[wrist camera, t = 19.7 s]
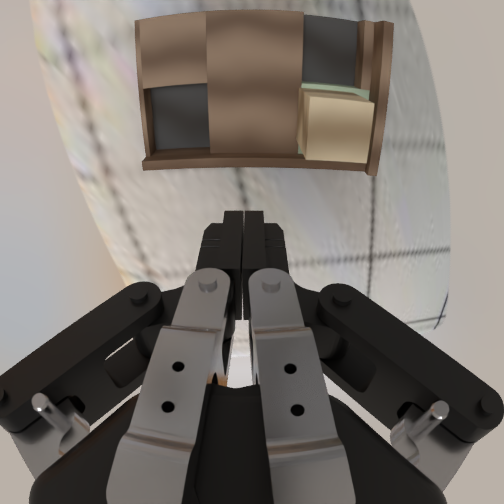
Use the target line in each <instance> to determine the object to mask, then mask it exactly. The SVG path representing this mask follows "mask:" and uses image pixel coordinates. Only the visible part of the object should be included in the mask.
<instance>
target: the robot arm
mask: <svg viewBox="0 0 504 504" xmlns="http://www.w3.org/2000/svg"><path fill="white" fill-rule="evenodd" d="M242 295H243V317H244V320H249V346H250V358H251V370H252V381H253V385H251V386H246V387H242V388H230V387H227V380H228V372H229V366H230V359H231V353H232V346H233V339H234V335H233V333H234V331H235V320H242ZM131 338H133V340H132V341H130V342H129V343H128V344H127V345H125V346H124V347H122V348H121V349H120V350H118V351H117V352H116V353H114V354H113V355H112V356H110V357H109V358H108V359H107V360H105V359H106V358H107V357H108V356H109V355H110V354H111V353H112V352H114V351H115V350H117V349H118V348H119V347H121V346H122V345H123V344H124V343H126V342H127V341H128V340H130V339H131ZM323 373H324V374H325V375H326V376H327V377H328V378H330V379H331V380H332V381H333V382H334V383H335V384H336V385H338V386H339V387H340V388H341V389H342V390H343V391H345V392H346V393H347V394H348V395H349V396H350V397H352V398H353V399H354V400H355V401H356V402H358V403H359V404H360V405H361V406H362V407H363V408H365V409H366V410H367V411H368V412H369V413H370V414H372V415H373V416H374V417H375V418H376V419H378V420H379V421H380V422H381V423H382V424H384V425H385V426H386V427H387V428H389V429H390V430H391V433H390V441H391V444H392V446H391V445H390V444H389V443H388V442H387V441H386V440H384V439H383V438H382V437H381V436H380V435H379V434H378V433H376V431H374V430H373V429H372V428H371V427H370V426H369V425H368V424H367V423H365V421H363V420H362V419H361V418H360V417H359V416H358V415H357V414H356V413H354V411H353V410H351V409H350V408H349V407H348V406H347V405H346V404H344V403H343V402H342V401H340V400H338V399H337V398H335V397H333V396H331V395H329V394H328V392H327V388H326V384H325V380H324V376H323ZM140 385H142V387H141V391H140V393H139V394H137V395H135V396H134V397H132V398H131V399H129V400H128V401H126V402H125V403H124V404H123V405H122V406H121V407H119V408H118V409H117V410H116V411H115V412H114V413H113V414H111V415H110V416H109V417H108V418H107V419H106V420H104V421H103V422H102V423H101V424H100V425H99V426H97V427H96V428H95V429H94V430H93V431H92V432H90V426H91V425H92V424H93V423H95V422H96V421H97V420H98V419H100V418H101V417H102V416H104V415H105V414H106V413H107V412H109V411H110V410H111V409H112V408H114V407H115V406H116V405H117V404H119V403H120V402H121V401H122V400H124V399H125V398H126V397H127V396H129V395H130V394H131V393H132V392H133V391H135V390H136V389H137V388H138V387H140ZM503 415H504V405H503V401H502V399H501V397H500V395H499V394H498V393H497V392H496V391H495V390H494V389H493V388H491V387H490V386H489V385H487V384H486V383H485V382H483V381H482V380H481V379H479V378H478V377H477V376H475V375H474V374H473V373H471V372H470V371H469V370H467V369H466V368H465V367H463V366H462V365H461V364H459V363H458V362H457V361H455V360H454V359H453V358H451V357H450V356H449V355H447V354H446V353H445V352H443V351H442V350H440V349H439V348H438V347H436V346H435V345H434V344H432V343H431V342H430V341H428V340H427V339H425V338H424V337H423V336H421V335H420V334H418V333H417V332H416V331H414V330H413V329H412V328H410V327H409V326H407V325H406V324H405V323H403V322H402V321H400V320H399V319H398V318H396V317H395V316H393V315H392V314H391V313H389V312H388V311H386V310H385V309H383V308H382V307H381V306H379V305H378V304H376V303H375V302H374V301H372V300H371V299H369V298H368V297H366V296H365V295H364V294H362V293H361V292H359V291H358V290H356V289H355V288H353V287H351V286H349V285H346V284H339V283H336V284H330V285H327V286H326V287H324V288H323V289H322V290H321V291H320V292H316V291H311V290H308V289H305V288H302V287H300V286H298V285H297V284H296V283H295V282H294V281H293V279H292V277H291V276H290V275H289V269H288V261H287V254H286V248H285V241H284V233H283V230H282V229H281V228H280V226H279V225H278V224H277V223H264V214H263V211H245V219H244V215H243V211H225V212H224V219H223V223H211V224H210V225H209V226H208V227H207V228H206V229H205V230H204V234H203V239H202V243H201V248H200V252H199V256H198V261H197V265H196V270H195V272H193V273H192V274H191V275H189V277H188V278H187V280H186V282H185V285H184V286H182V287H179V288H177V289H173V290H168V291H164V292H161V291H160V289H159V287H158V286H157V285H155V284H153V283H151V282H137V283H133V284H131V285H129V286H127V287H126V288H124V289H123V290H121V291H120V292H118V293H117V294H115V295H114V296H112V297H111V298H109V299H108V300H106V301H105V302H104V303H102V304H101V305H99V306H98V307H96V308H95V309H93V310H92V311H90V312H89V313H87V314H86V315H84V316H83V317H82V318H80V319H79V320H78V321H76V322H74V323H73V324H71V325H70V326H69V327H67V328H66V329H64V330H63V331H61V332H60V333H59V334H57V335H56V336H54V337H53V338H52V339H50V340H49V341H47V342H46V343H45V344H43V345H42V346H40V347H39V348H38V349H36V350H35V351H33V352H32V353H31V354H29V355H28V356H27V357H25V358H24V359H22V360H21V361H20V362H19V363H17V364H16V365H14V366H13V367H12V368H10V369H9V370H8V371H6V372H5V373H4V374H2V375H1V376H0V425H1V426H2V427H3V428H4V429H5V430H6V431H7V432H8V433H10V435H11V436H12V439H13V441H14V443H15V444H16V446H17V448H18V450H19V452H20V454H21V456H22V458H23V459H24V461H25V463H26V465H27V466H28V468H29V470H30V472H31V473H32V475H33V476H34V478H35V482H34V484H33V486H32V488H31V491H30V497H29V504H447V502H446V498H445V497H444V494H443V491H444V490H445V488H446V487H447V485H448V484H449V482H450V481H451V479H452V478H453V477H454V475H455V474H456V472H457V471H458V469H459V467H460V466H461V464H462V463H463V461H464V460H465V458H466V456H467V454H468V453H469V451H470V450H471V448H472V446H473V445H474V443H476V442H477V441H478V440H480V439H481V438H482V437H484V436H485V435H486V434H488V433H489V432H490V431H492V430H493V429H494V428H495V427H497V426H498V425H499V424H500V422H501V421H502V419H503Z"/></svg>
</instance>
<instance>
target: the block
mask: <svg viewBox="0 0 504 504" xmlns="http://www.w3.org/2000/svg"><path fill="white" fill-rule="evenodd" d="M374 104H375V103H373V102H371V101H369V100H367V99H365V98H363V97H361V96H359V95H357V94H355V93H352V92H343V91H334V90H323V89H310V88H299V97H298V118H297V136H296V140H297V142H298V144H299V146H300V149H301V151H302V153H303V155H304V157H305V159H306V160H323V161H341V162H355V163H367V157H368V150H369V144H370V136H371V129H372V121H373V113H374Z"/></svg>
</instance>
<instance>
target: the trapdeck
mask: <svg viewBox="0 0 504 504" xmlns="http://www.w3.org/2000/svg"><path fill="white" fill-rule="evenodd" d="M393 30H394V23H391V22H387V21H379V22H371V21H366V20H364V21H359V22H356V21H350V20H344V19H337V18H330V17H322V16H312V15H304V12H298V11H282V10H220V11H203V12H192V13H182V14H174V15H166V16H160V17H153V18H147V19H142V20H136V21H135V43H136V62H137V76H138V89H139V100H140V110H141V120H142V128H143V137H144V145H145V153H146V157H145V159H144V160H143V161H142V167H143V171H145V170H161V169H182V168H216V167H279V168H312V169H333V170H350V171H364V172H366V174H367V175H370V176H377V171H378V165H379V159H380V153H381V147H382V141H383V134H384V127H385V119H386V112H387V103H388V95H389V85H390V74H391V63H392V48H393ZM299 88H310V89H323V90H334V91H343V92H352V93H355V94H357V95H359V96H361V97H363V98H365V99H367V100H369V101H371V102H373V103H375V104H374V113H373V121H372V129H371V136H370V144H369V150H368V157H367V163H355V162H341V161H323V160H306V159H305V157H304V155H303V153H302V151H301V149H300V146H299V144H298V142H297V140H296V136H297V118H298V97H299Z"/></svg>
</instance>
